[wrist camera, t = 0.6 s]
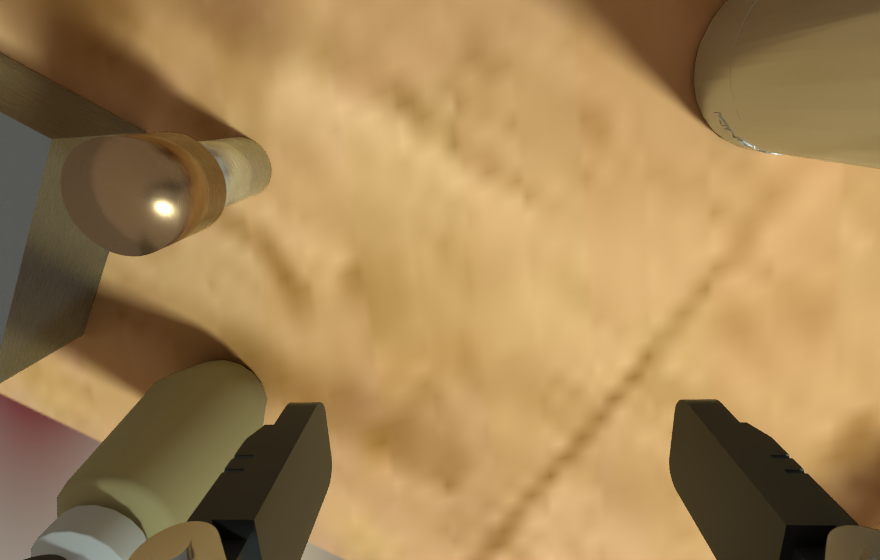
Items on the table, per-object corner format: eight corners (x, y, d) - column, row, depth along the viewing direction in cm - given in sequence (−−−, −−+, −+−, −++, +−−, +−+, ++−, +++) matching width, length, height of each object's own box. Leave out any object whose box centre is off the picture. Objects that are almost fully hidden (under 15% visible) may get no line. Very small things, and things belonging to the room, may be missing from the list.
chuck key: (220, 111, 28) (76, 112, 18) (293, 151, 29) (194, 176, 19) (194, 181, 30) (48, 220, 20) (264, 219, 30) (158, 276, 20)
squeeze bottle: (162, 410, 36) (-108, 677, 19) (192, 325, 33) (-91, 548, 17) (261, 454, 37) (85, 745, 20) (298, 374, 34) (131, 633, 17)
